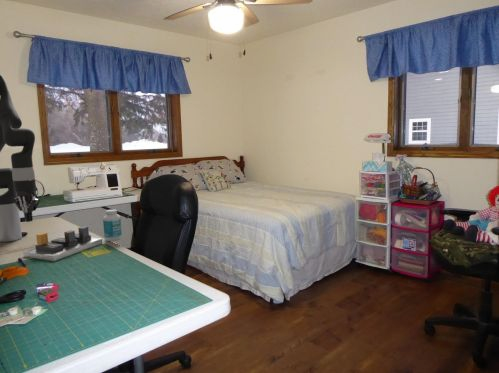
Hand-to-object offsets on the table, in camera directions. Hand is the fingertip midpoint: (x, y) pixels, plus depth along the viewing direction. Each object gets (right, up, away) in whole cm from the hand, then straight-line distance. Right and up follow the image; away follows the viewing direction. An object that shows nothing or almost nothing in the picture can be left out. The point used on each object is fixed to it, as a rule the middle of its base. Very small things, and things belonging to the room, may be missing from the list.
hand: (29, 221), depth 144 cm
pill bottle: (+28, -10, +18) cm, 34 cm away
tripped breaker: (+6, -9, -1) cm, 11 cm away
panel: (+12, -12, +5) cm, 18 cm away
